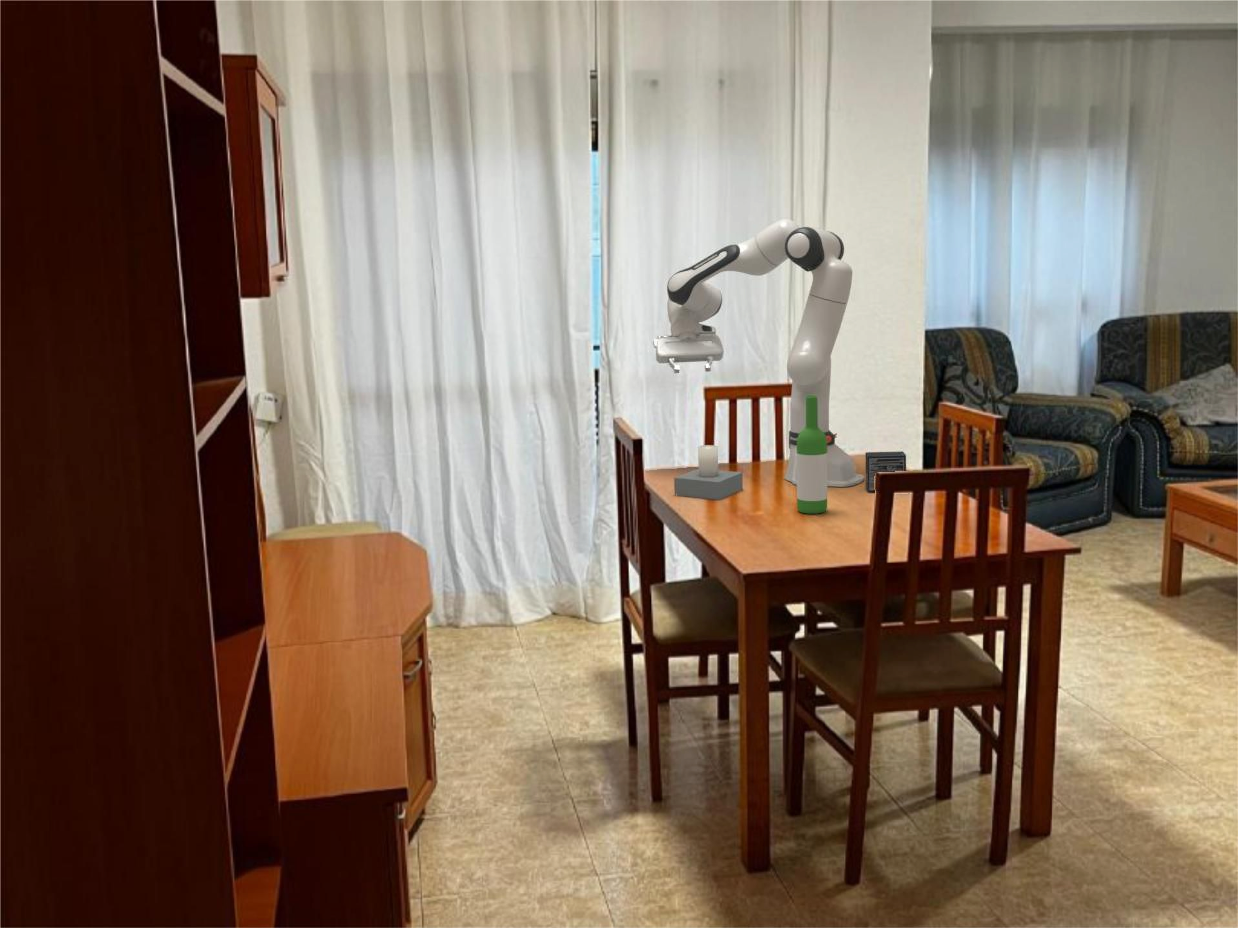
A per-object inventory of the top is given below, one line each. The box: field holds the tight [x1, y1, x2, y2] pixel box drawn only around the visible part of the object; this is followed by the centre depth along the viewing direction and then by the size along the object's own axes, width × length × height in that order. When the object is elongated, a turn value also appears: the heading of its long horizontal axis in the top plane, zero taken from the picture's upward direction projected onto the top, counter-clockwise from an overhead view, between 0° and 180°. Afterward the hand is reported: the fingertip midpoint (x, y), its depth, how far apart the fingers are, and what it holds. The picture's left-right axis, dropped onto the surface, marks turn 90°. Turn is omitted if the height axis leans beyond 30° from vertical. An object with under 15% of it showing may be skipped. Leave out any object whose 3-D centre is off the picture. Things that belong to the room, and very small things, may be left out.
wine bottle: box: [796, 396, 828, 515], centre depth 302 cm, size 8×8×30 cm
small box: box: [865, 450, 907, 494], centre depth 324 cm, size 11×6×10 cm, turn 84°
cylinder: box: [697, 444, 719, 477], centre depth 328 cm, size 6×6×8 cm
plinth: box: [673, 468, 744, 501], centre depth 330 cm, size 14×14×5 cm
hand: (692, 371), depth 348 cm, fingers open, 8 cm apart
